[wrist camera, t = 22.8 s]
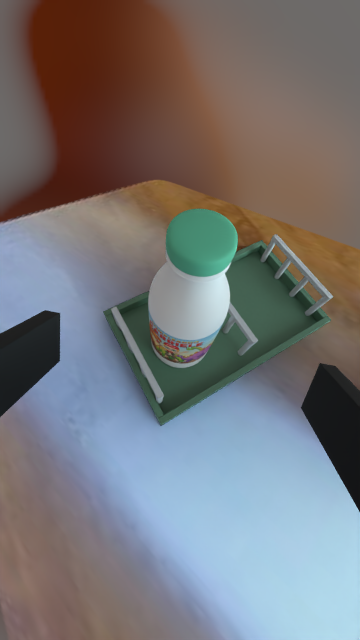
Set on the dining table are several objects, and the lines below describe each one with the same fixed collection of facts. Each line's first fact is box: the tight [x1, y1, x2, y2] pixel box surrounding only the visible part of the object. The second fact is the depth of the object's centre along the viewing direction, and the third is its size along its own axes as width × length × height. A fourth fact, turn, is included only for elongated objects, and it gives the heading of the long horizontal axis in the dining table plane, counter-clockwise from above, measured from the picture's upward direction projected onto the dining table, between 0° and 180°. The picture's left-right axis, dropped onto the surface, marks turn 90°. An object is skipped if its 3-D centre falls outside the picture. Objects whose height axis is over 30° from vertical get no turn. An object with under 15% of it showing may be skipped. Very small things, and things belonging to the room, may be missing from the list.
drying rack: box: [103, 234, 333, 426], centre depth 33 cm, size 27×16×6 cm, turn 120°
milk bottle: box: [148, 209, 238, 368], centre depth 25 cm, size 8×8×20 cm
